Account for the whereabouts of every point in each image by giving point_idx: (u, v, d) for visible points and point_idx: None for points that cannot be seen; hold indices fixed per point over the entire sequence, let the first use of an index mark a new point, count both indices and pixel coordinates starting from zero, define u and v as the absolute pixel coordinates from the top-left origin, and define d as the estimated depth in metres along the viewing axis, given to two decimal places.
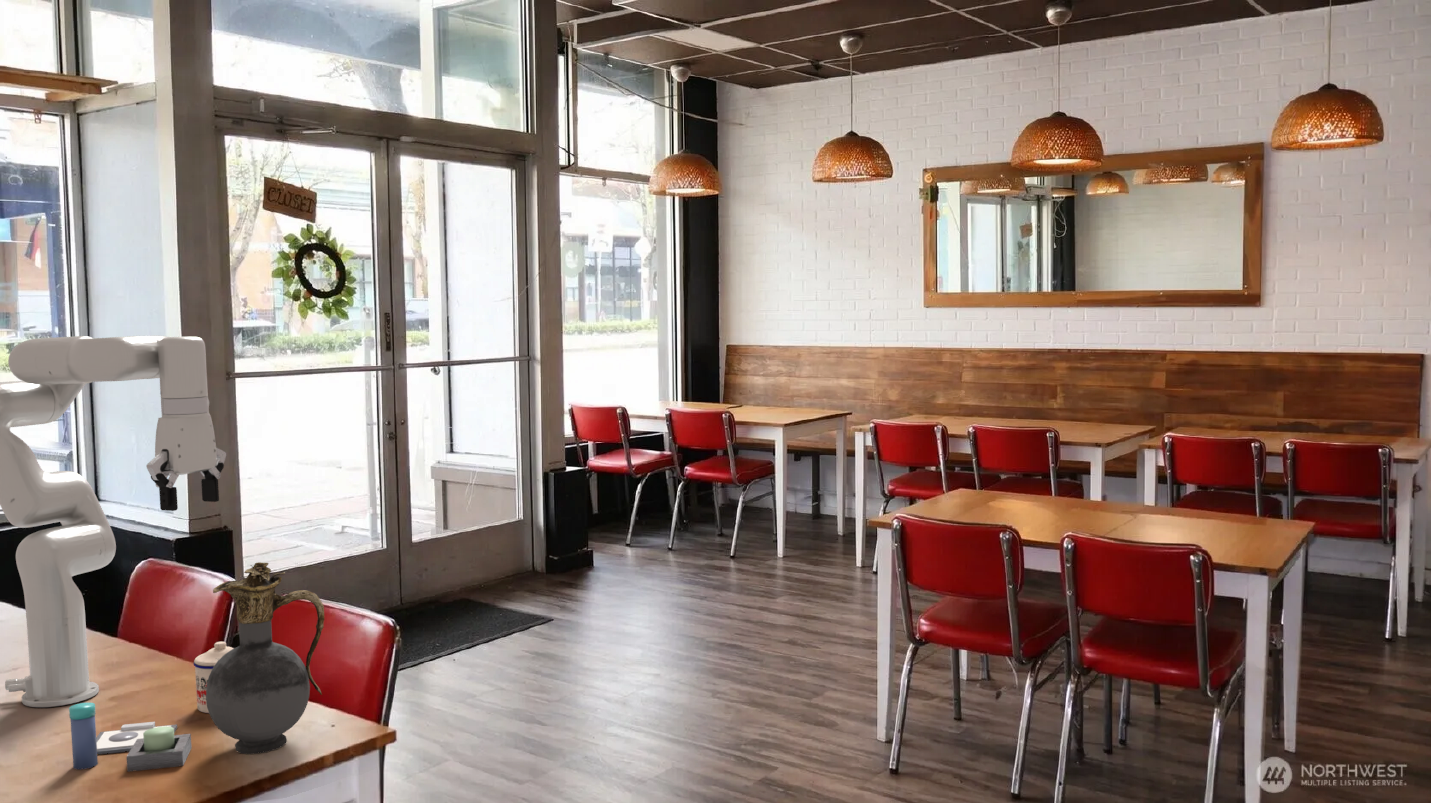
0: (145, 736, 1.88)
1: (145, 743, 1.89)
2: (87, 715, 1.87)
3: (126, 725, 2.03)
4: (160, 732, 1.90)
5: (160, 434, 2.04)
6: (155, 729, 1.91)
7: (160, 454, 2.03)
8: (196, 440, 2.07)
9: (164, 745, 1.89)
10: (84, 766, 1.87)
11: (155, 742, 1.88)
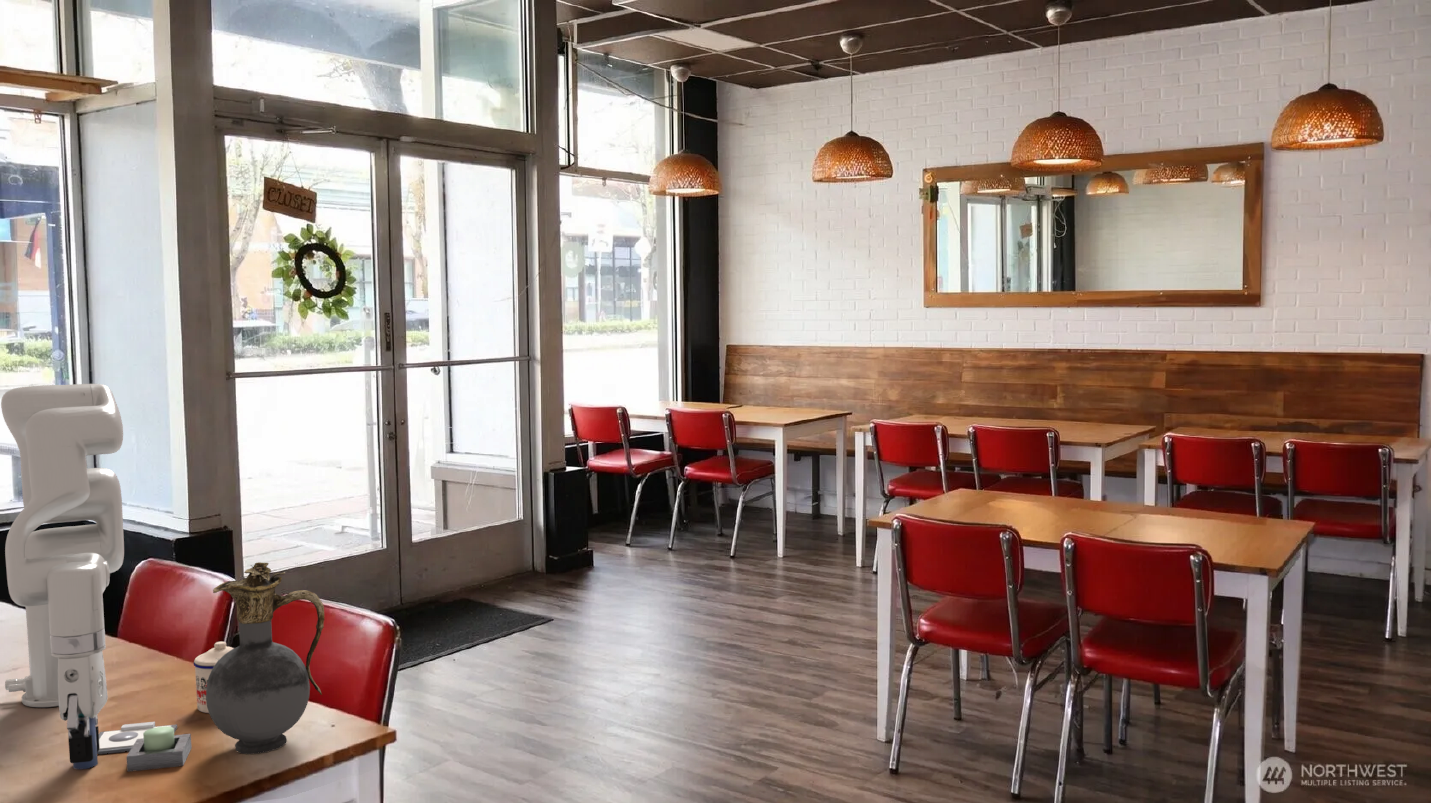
0: (145, 736, 1.88)
1: (145, 743, 1.89)
2: None
3: (126, 725, 2.03)
4: (160, 732, 1.90)
5: None
6: (155, 729, 1.91)
7: None
8: None
9: (164, 745, 1.89)
10: (84, 766, 1.87)
11: (155, 742, 1.88)
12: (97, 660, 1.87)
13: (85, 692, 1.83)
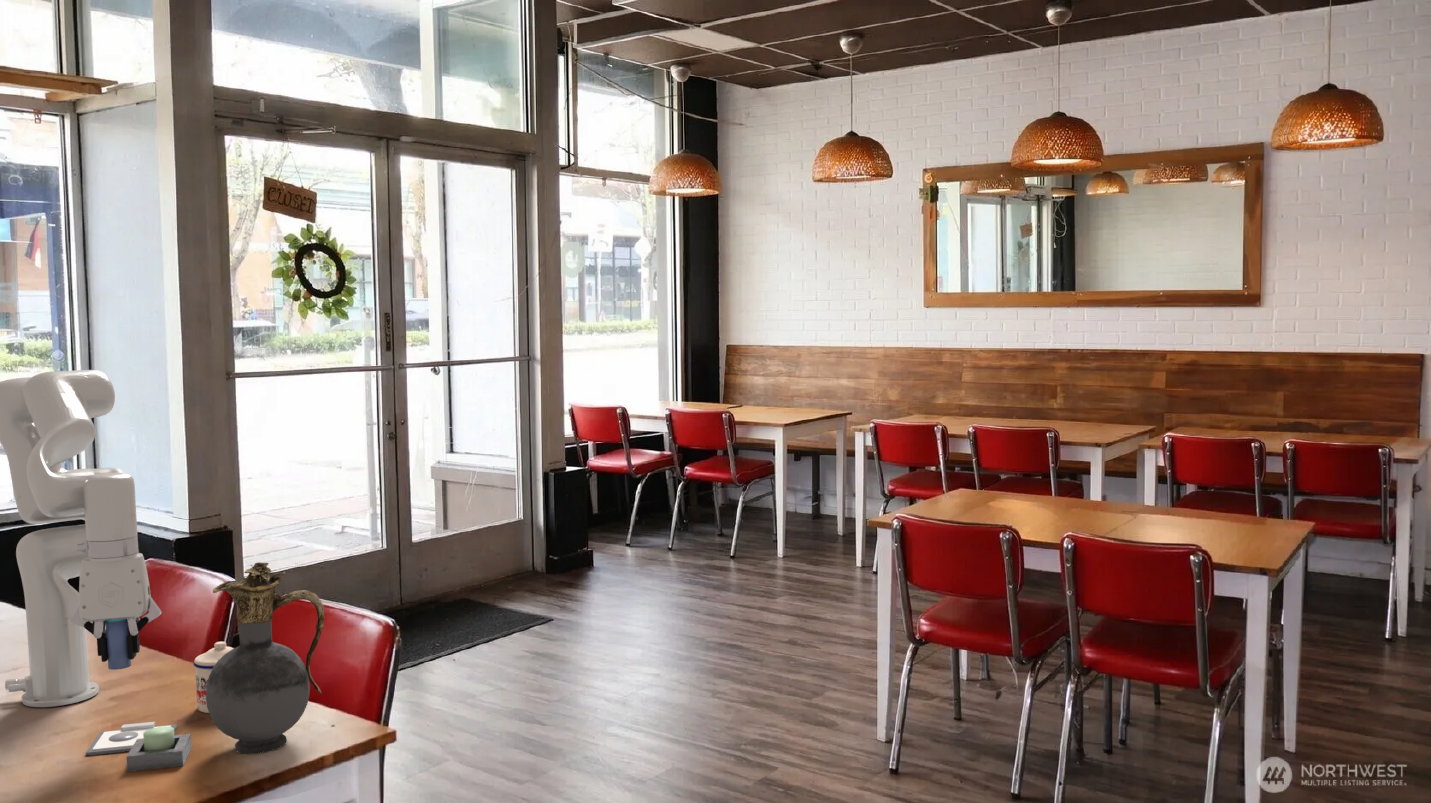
0: (145, 736, 1.88)
1: (145, 743, 1.89)
2: None
3: (126, 725, 2.03)
4: (160, 732, 1.90)
5: (145, 572, 1.97)
6: (155, 729, 1.91)
7: (150, 598, 1.99)
8: None
9: (164, 745, 1.89)
10: (108, 665, 1.97)
11: (155, 742, 1.88)
12: (103, 569, 1.94)
13: (79, 593, 1.94)
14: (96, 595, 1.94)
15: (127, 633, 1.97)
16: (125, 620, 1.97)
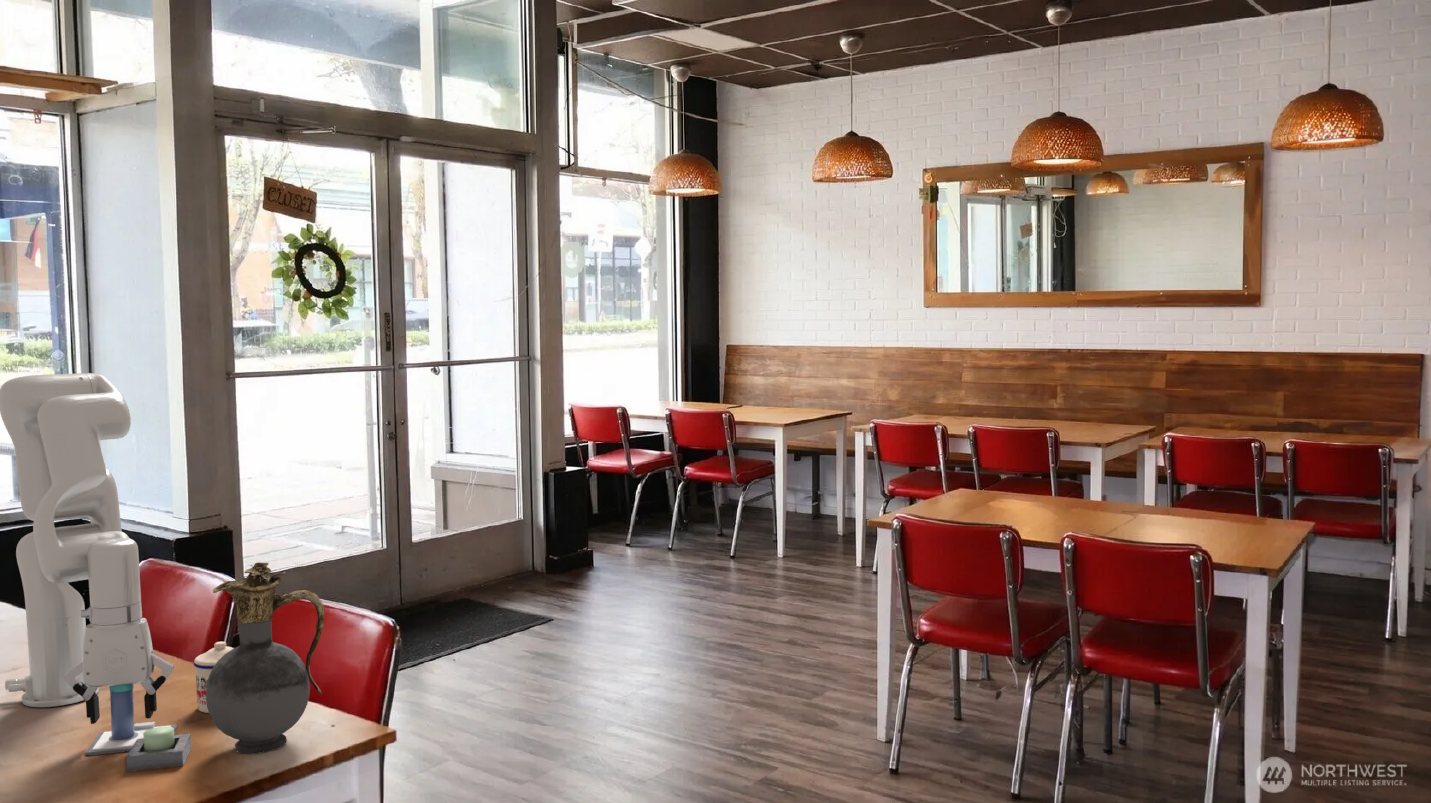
0: (145, 736, 1.88)
1: (145, 743, 1.89)
2: (110, 689, 1.97)
3: None
4: (160, 732, 1.90)
5: (148, 637, 1.98)
6: (155, 729, 1.91)
7: (158, 657, 2.00)
8: None
9: (164, 745, 1.89)
10: None
11: (155, 742, 1.88)
12: (107, 635, 1.95)
13: (83, 659, 1.95)
14: (100, 661, 1.95)
15: (131, 703, 1.99)
16: (130, 690, 1.98)
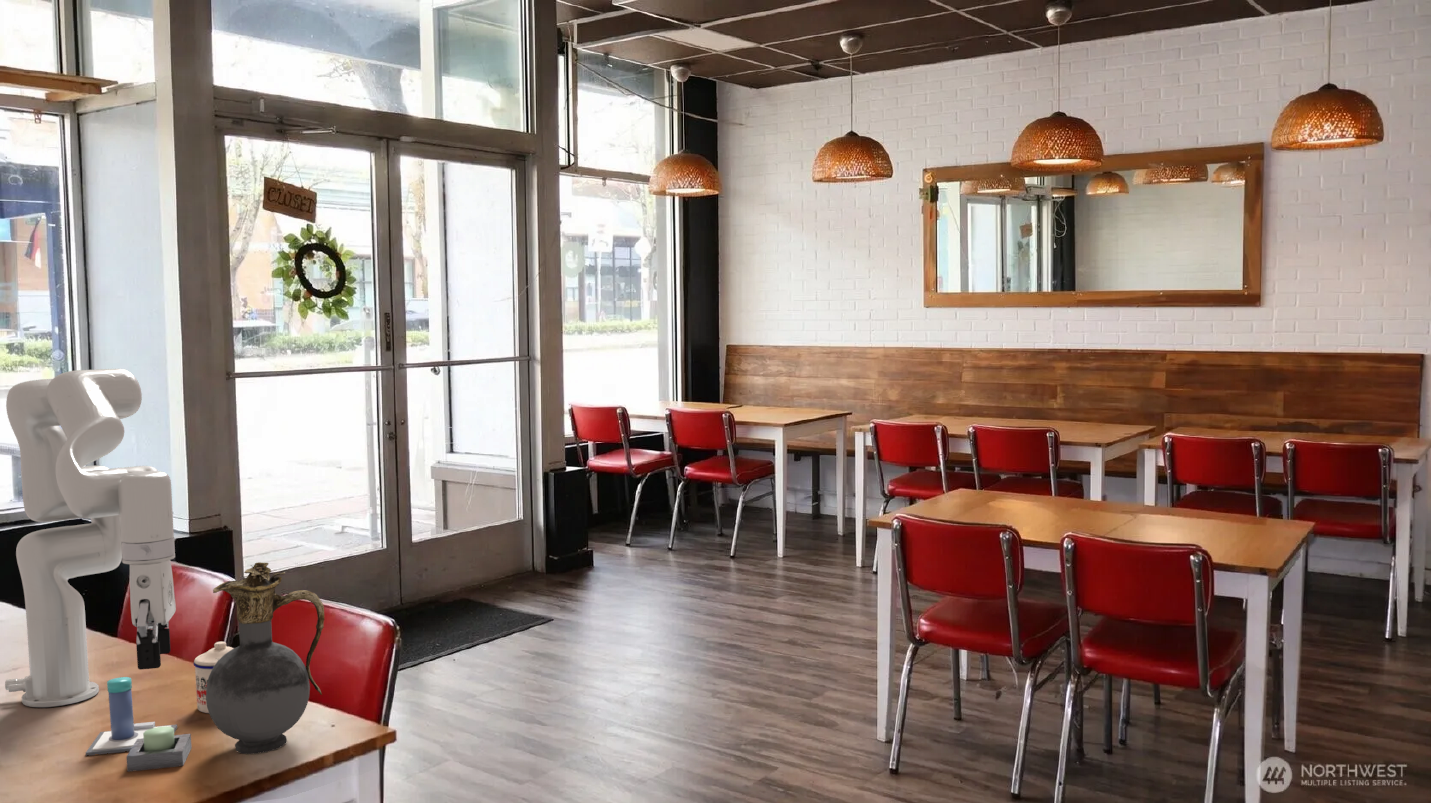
0: (145, 736, 1.88)
1: (145, 743, 1.89)
2: (108, 689, 1.97)
3: None
4: (160, 732, 1.90)
5: None
6: (155, 729, 1.91)
7: None
8: None
9: (164, 745, 1.89)
10: (111, 735, 1.98)
11: (155, 742, 1.88)
12: (167, 568, 1.88)
13: (157, 598, 1.84)
14: (167, 596, 1.87)
15: (130, 703, 1.98)
16: (128, 691, 1.98)
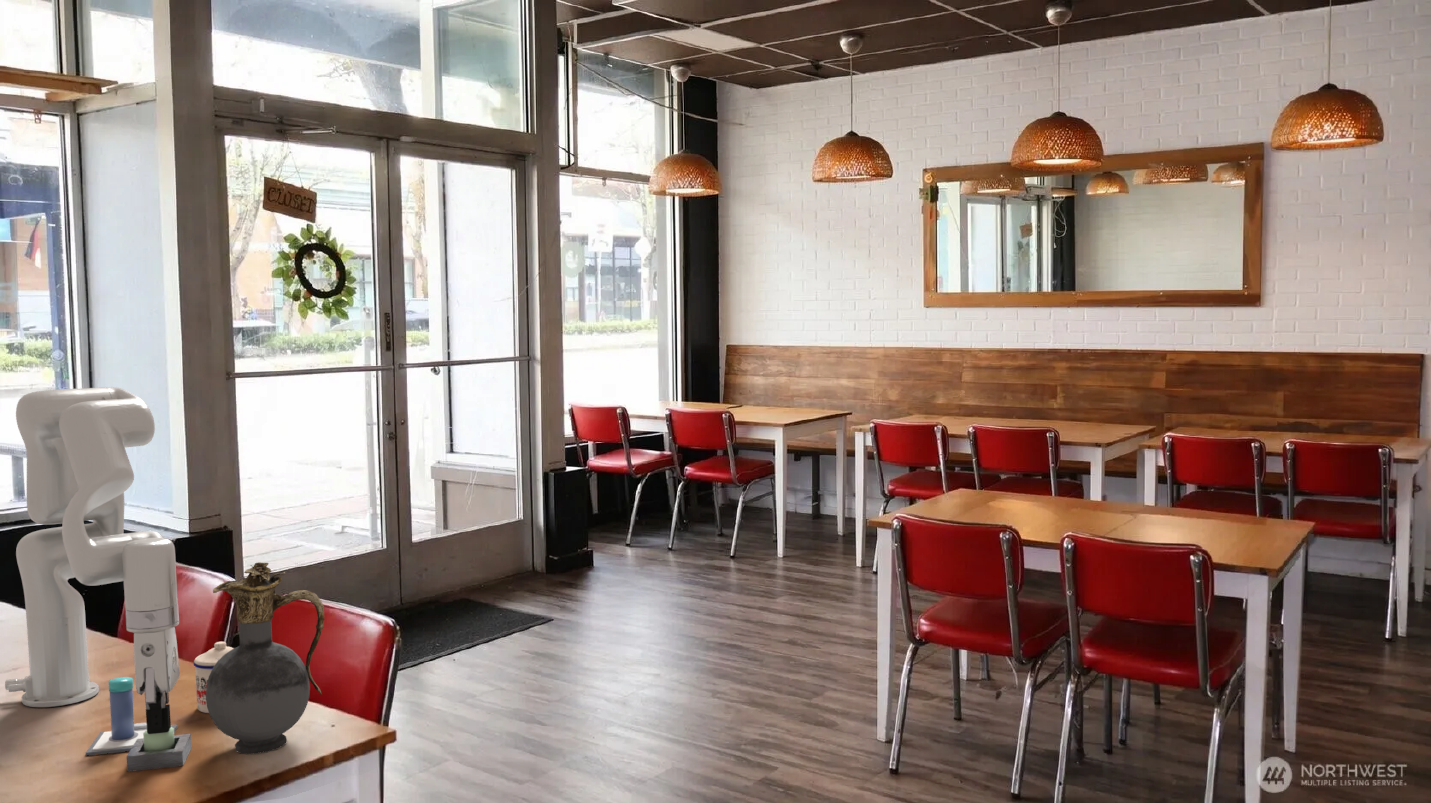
0: (145, 736, 1.88)
1: (145, 743, 1.89)
2: (109, 689, 1.97)
3: None
4: None
5: None
6: None
7: None
8: None
9: (164, 745, 1.89)
10: None
11: (155, 742, 1.88)
12: (171, 635, 1.89)
13: (161, 666, 1.85)
14: (171, 663, 1.88)
15: (131, 703, 1.98)
16: (129, 691, 1.98)
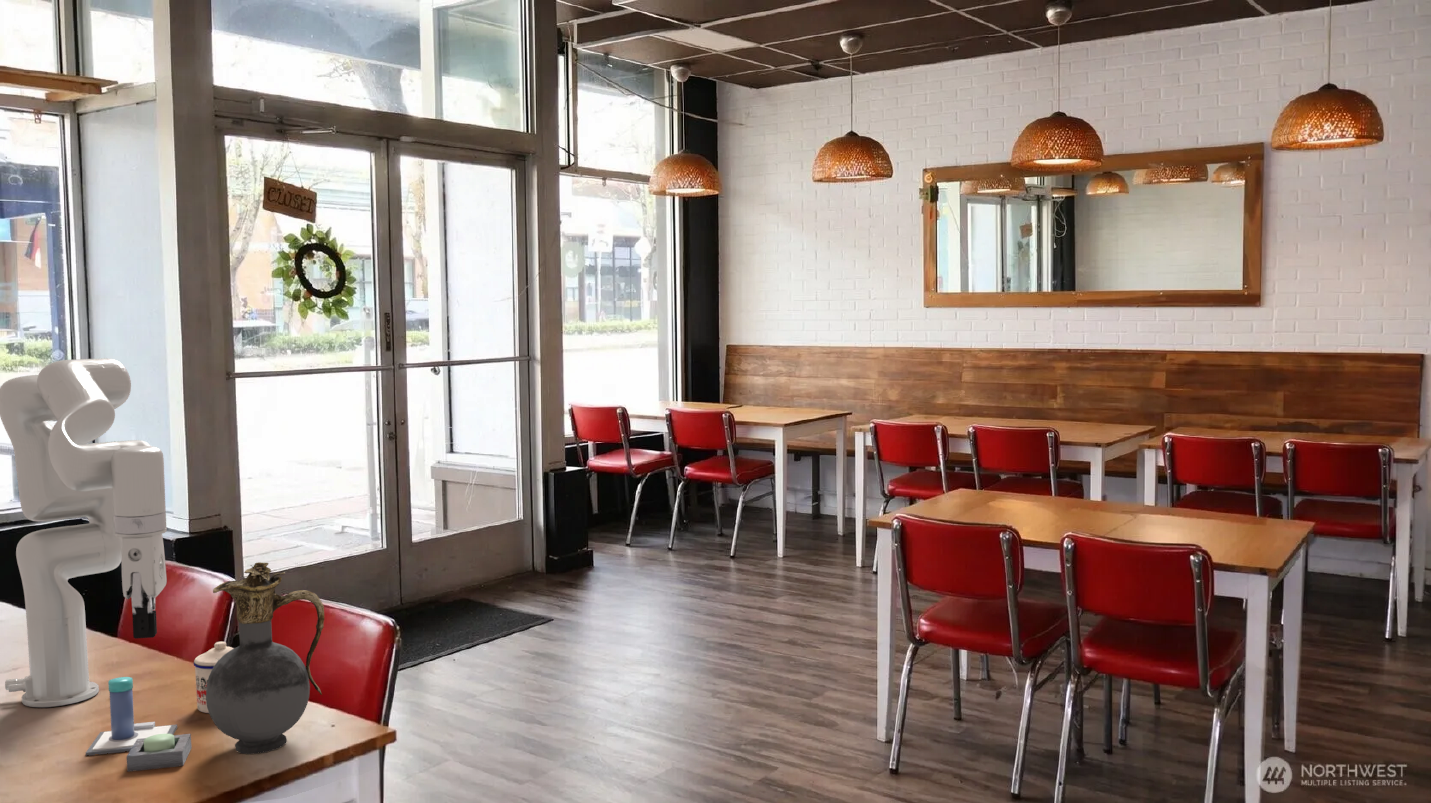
0: (145, 743, 1.88)
1: (145, 750, 1.89)
2: (109, 689, 1.97)
3: None
4: (161, 739, 1.90)
5: None
6: (155, 736, 1.91)
7: None
8: None
9: None
10: None
11: (155, 749, 1.88)
12: (158, 541, 1.91)
13: (148, 571, 1.87)
14: (158, 569, 1.90)
15: (131, 703, 1.98)
16: (129, 690, 1.98)
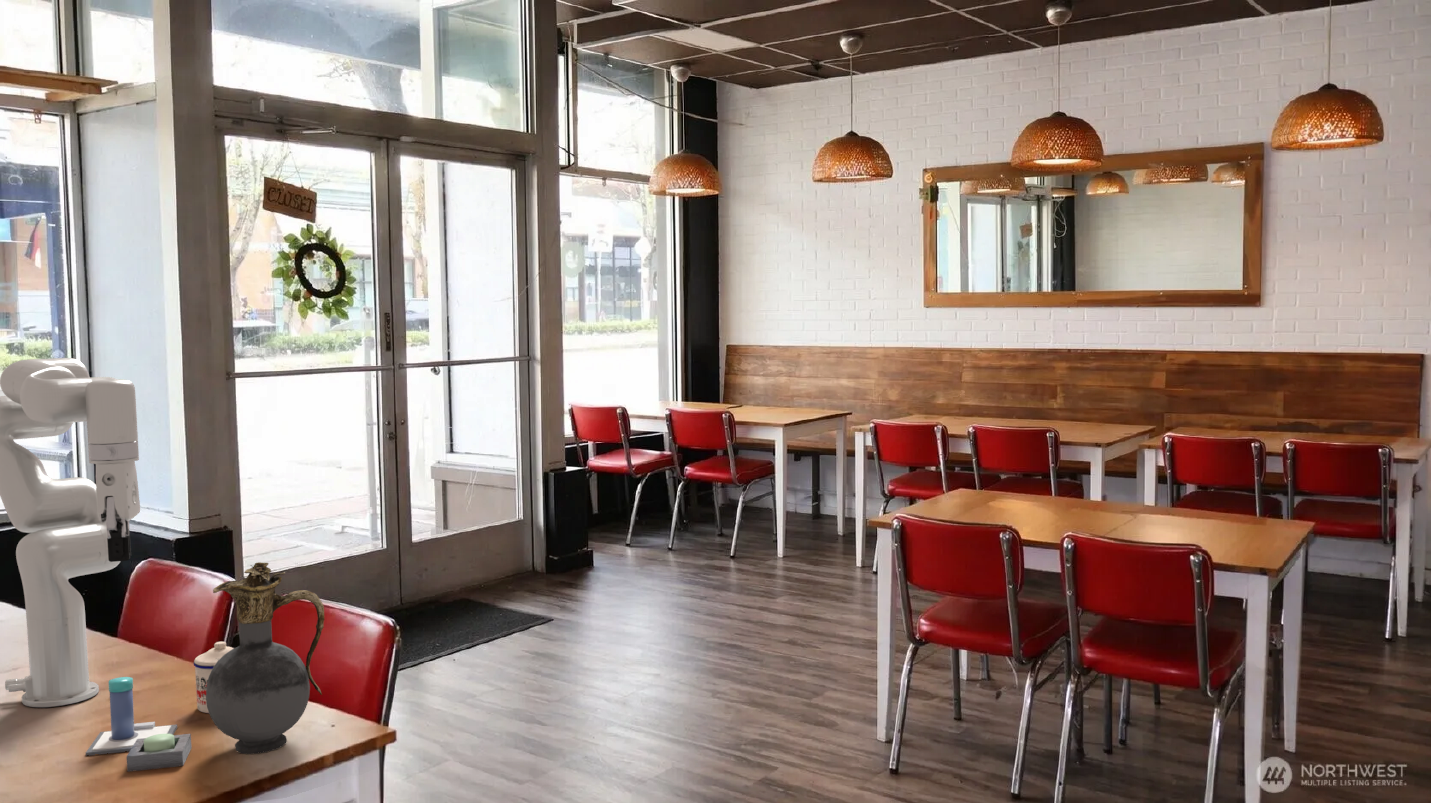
0: (145, 743, 1.88)
1: (145, 750, 1.89)
2: (109, 689, 1.97)
3: None
4: (161, 739, 1.90)
5: None
6: (155, 736, 1.91)
7: None
8: None
9: None
10: None
11: (155, 749, 1.88)
12: (131, 469, 2.02)
13: (121, 495, 1.98)
14: (131, 494, 2.01)
15: (131, 703, 1.98)
16: (129, 691, 1.98)
